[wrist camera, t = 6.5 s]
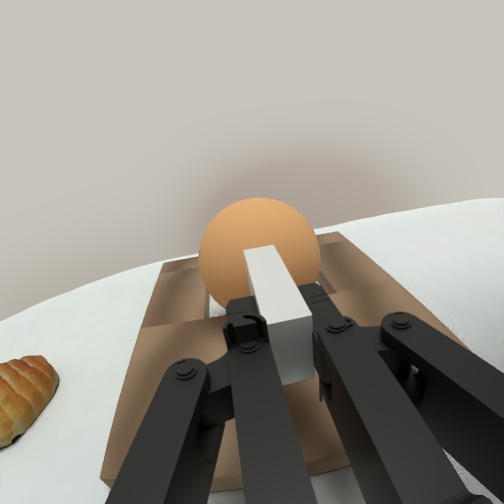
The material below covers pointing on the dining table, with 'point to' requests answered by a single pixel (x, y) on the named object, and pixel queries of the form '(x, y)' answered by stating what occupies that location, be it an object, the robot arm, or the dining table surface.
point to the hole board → (214, 346)
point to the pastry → (24, 394)
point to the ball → (255, 246)
